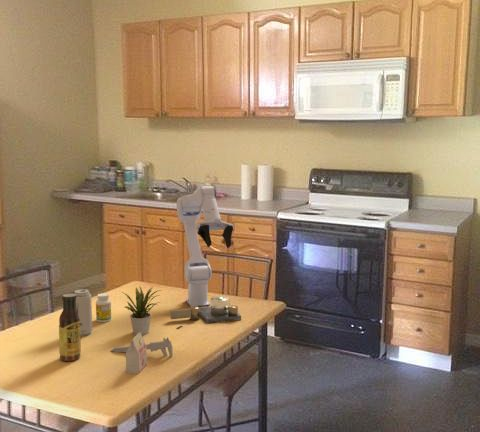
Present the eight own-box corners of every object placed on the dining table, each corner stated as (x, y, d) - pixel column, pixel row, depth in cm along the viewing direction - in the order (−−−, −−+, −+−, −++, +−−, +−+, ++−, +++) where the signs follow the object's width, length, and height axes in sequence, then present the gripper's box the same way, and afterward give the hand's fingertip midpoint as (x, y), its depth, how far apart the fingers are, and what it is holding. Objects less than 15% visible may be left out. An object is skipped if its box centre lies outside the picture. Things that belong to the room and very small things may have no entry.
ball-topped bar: (198, 316, 215) (198, 305, 215) (200, 319, 212) (200, 308, 211) (169, 319, 212) (169, 308, 211) (171, 322, 209) (171, 311, 208)
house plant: (173, 332, 199) (172, 286, 196) (141, 343, 189) (140, 295, 186) (147, 323, 208) (146, 279, 206) (115, 333, 198) (114, 286, 196)
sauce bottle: (69, 364, 172) (66, 299, 169) (55, 359, 175) (52, 296, 172) (86, 356, 178) (83, 294, 175) (72, 352, 181) (69, 291, 178)
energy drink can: (70, 333, 198) (69, 291, 195) (86, 329, 202) (84, 287, 200) (80, 337, 194) (78, 294, 191) (95, 333, 198) (94, 290, 196)
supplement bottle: (112, 321, 210) (111, 295, 209) (97, 323, 208) (96, 297, 207) (109, 317, 215) (109, 292, 214) (95, 318, 213) (94, 293, 211)
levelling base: (167, 314, 218) (166, 296, 217) (229, 308, 226) (229, 291, 225) (176, 329, 202) (176, 310, 201) (243, 321, 210) (243, 303, 209)
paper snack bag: (126, 373, 166) (125, 339, 165) (134, 363, 173) (134, 331, 171) (138, 374, 165) (137, 340, 164) (146, 364, 172) (146, 332, 170)
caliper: (172, 356, 179) (172, 337, 178) (171, 358, 178) (171, 338, 177) (111, 351, 183) (111, 332, 182) (110, 352, 182) (109, 333, 181)
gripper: (197, 206, 203) (204, 239, 196) (233, 209, 210) (242, 240, 203) (190, 217, 208) (197, 250, 201) (225, 219, 215) (234, 251, 208)
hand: (219, 246), depth 202 cm, fingers open, 7 cm apart
